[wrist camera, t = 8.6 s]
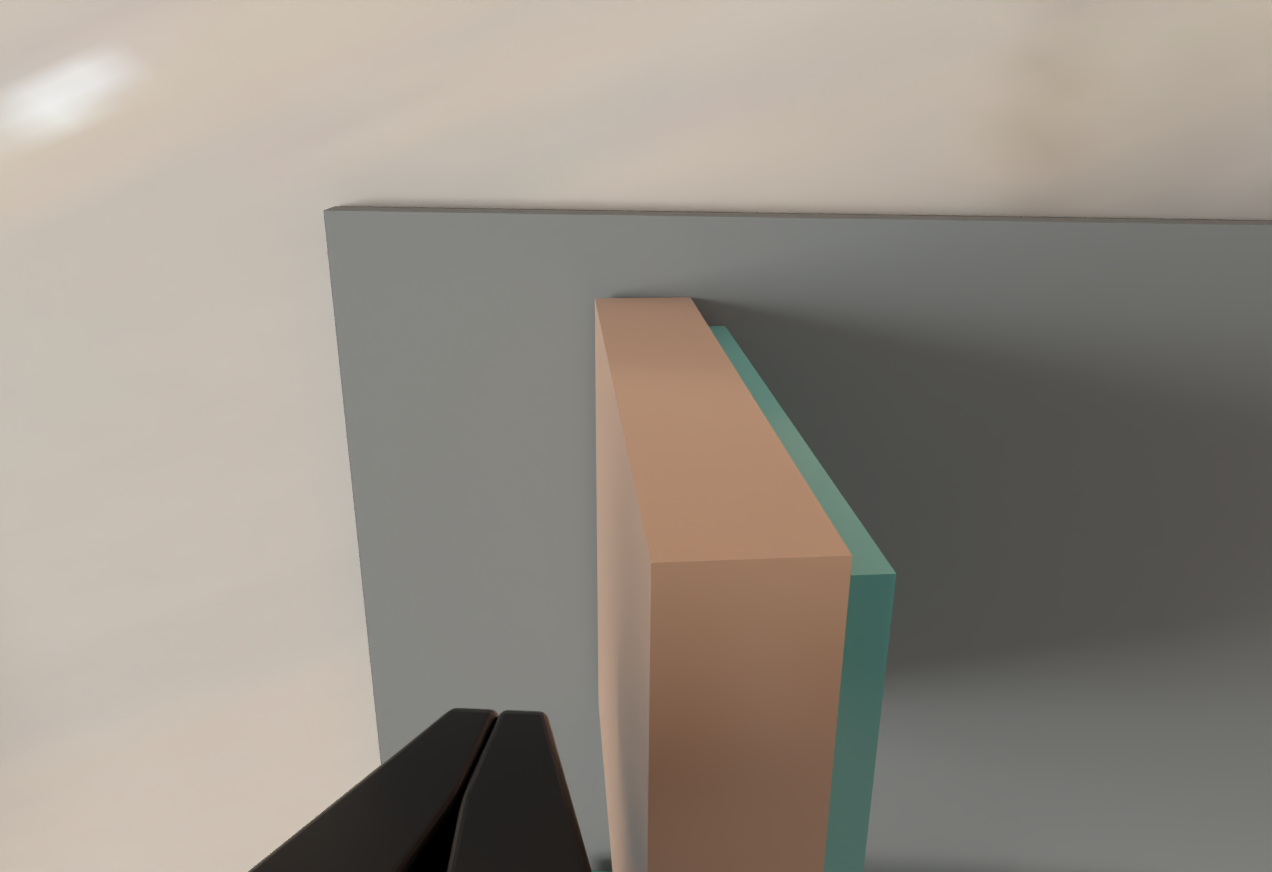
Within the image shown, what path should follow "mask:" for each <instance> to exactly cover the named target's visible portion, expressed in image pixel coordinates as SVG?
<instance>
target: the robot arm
mask: <svg viewBox="0 0 1272 872" xmlns="http://www.w3.org/2000/svg"><path fill="white" fill-rule="evenodd" d="M248 872H592V870H591V867H590V863H589V860H588V856H587V852H586V849H585V845H584V842H583V838H582V835H581V831H580V828H579V824H578V821H577V817H576V814H575V810H574V807H573V803H572V800H571V796H570V792H569V789H568V785H567V782H566V778H565V775H564V771H563V768H562V764H561V761H560V757H559V754H558V750H557V747H556V743H555V739H554V736H553V732H552V729H551V725H550V722H549V718H548V716H547V715H546V714H545V713H544V712H541V711H523V710H505V711H503V712H501V713H500V714H499V715H498V713H497V712H496V711H495V710H492V709H476V708H454V709H451V710H449V711H448V712H446V713H445V714H444V715H442V716H441V717H440V718H439V719H438V720H436V721H435V722H434V723H433V724H431V725H430V726H429V727H428V728H426V729H425V730H424V731H423V732H421V733H420V734H419V735H418V736H416V737H415V738H414V739H413V740H411V741H410V742H409V743H408V744H406V745H405V746H404V747H403V748H401V749H400V750H399V751H398V752H396V753H395V754H394V755H393V756H391V757H390V758H389V759H388V760H386V761H385V762H384V763H383V764H382V765H380V766H379V767H378V768H377V769H375V770H374V771H373V772H372V773H370V774H369V775H368V776H367V777H365V778H364V779H363V780H362V781H360V782H359V783H358V784H357V785H355V786H354V787H353V788H352V789H350V790H349V791H348V792H347V793H345V794H344V795H343V796H342V797H340V798H339V799H338V800H337V801H335V802H334V803H333V804H332V805H331V806H329V807H328V808H327V809H326V810H324V811H323V812H322V813H321V814H319V815H318V816H317V817H316V818H314V819H313V820H312V821H311V822H309V823H308V824H307V825H306V826H304V827H303V828H302V829H301V830H299V831H298V832H297V833H296V834H294V835H293V836H292V837H291V838H289V839H288V840H287V841H286V842H284V843H283V844H282V845H281V846H280V847H278V848H277V849H276V850H275V851H273V852H272V853H271V854H270V855H268V856H267V857H266V858H265V859H263V860H262V861H261V862H260V863H258V864H257V865H256V866H255V867H253V868H252V869H251V870H250V871H248Z"/></svg>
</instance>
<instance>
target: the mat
mask: <svg viewBox="0 0 1272 872" xmlns="http://www.w3.org/2000/svg"><path fill="white" fill-rule="evenodd" d="M324 220H325V229H326V239H327V249H328V258H329V268H330V278H331V287H332V297H333V307H334V316H335V326H336V335H337V345H338V355H339V364H340V374H341V384H342V393H343V403H344V412H345V422H346V432H347V441H348V451H349V461H350V470H351V480H352V490H353V499H354V509H355V518H356V528H357V538H358V547H359V557H360V567H361V576H362V586H363V596H364V605H365V615H366V624H367V634H368V644H369V653H370V663H371V673H372V682H373V692H374V701H375V711H376V721H377V730H378V740H379V750H380V759H381V765H382V764H383V763H384V762H385V761H386V760H388V759H389V758H390V757H391V756H393V755H394V754H395V753H396V752H398V751H399V750H400V749H401V748H403V747H404V746H405V745H406V744H408V743H409V742H410V741H411V740H413V739H414V738H415V737H416V736H418V735H419V734H420V733H421V732H423V731H424V730H425V729H426V728H428V727H429V726H430V725H431V724H433V723H434V722H435V721H436V720H438V719H439V718H440V717H441V716H442V715H444V714H445V713H446V712H448V711H449V710H451V709H454V708H476V709H492V710H495V711H496V712H497V713H498V715H499V714H500V713H501V712H503V711H505V710H523V711H541V712H544V713H545V714H546V715H547V716H548V718H549V722H550V725H551V729H552V732H553V736H554V739H555V743H556V747H557V750H558V754H559V757H560V761H561V764H562V768H563V771H564V775H565V778H566V782H567V785H568V789H569V792H570V796H571V800H572V803H573V807H574V810H575V814H576V817H577V821H578V824H579V828H580V831H581V835H582V838H583V842H584V845H585V849H586V852H587V856H588V860H589V863H590V867H591V870H592V871H608V872H613V871H612V859H611V847H610V836H609V824H608V812H607V800H606V788H605V776H604V764H603V752H602V740H601V728H600V716H599V704H598V598H597V490H596V381H595V299H596V298H670V297H691V299H692V301H693V302H694V304H695V305H696V307H697V309H698V310H699V312H700V313H701V315H702V317H703V318H704V320H705V321H706V323H707V325H708V326H725V327H726V328H727V329H728V331H729V332H730V334H731V335H732V337H733V338H734V340H735V341H736V343H737V344H738V345H739V347H740V348H741V350H742V351H743V353H744V354H745V356H746V357H747V358H748V360H749V361H750V363H751V364H752V366H753V367H754V369H755V370H756V371H757V373H758V374H759V376H760V377H761V379H762V380H763V382H764V383H765V384H766V386H767V387H768V389H769V390H770V392H771V393H772V395H773V396H774V397H775V399H776V400H777V402H778V403H779V405H780V406H781V408H782V409H783V411H784V412H785V413H786V415H787V416H788V418H789V419H790V421H791V422H792V424H793V425H794V426H795V428H796V429H797V431H798V432H799V434H800V435H801V437H802V438H803V439H804V441H805V442H806V444H807V445H808V447H809V448H810V450H811V451H812V452H813V454H814V455H815V457H816V458H817V460H818V461H819V463H820V464H821V465H822V467H823V468H824V470H825V471H826V473H827V474H828V476H829V477H830V479H831V480H832V481H833V483H834V484H835V486H836V487H837V489H838V490H839V492H840V493H841V494H842V496H843V497H844V499H845V500H846V502H847V503H848V505H849V506H850V507H851V509H852V510H853V512H854V513H855V515H856V516H857V518H858V519H859V520H860V522H861V523H862V525H863V526H864V528H865V529H866V531H867V532H868V533H869V535H870V536H871V538H872V539H873V541H874V542H875V544H876V545H877V547H878V548H879V549H880V551H881V552H882V554H883V555H884V557H885V558H886V560H887V561H888V562H889V564H890V565H891V567H892V568H893V570H894V571H895V573H896V581H895V590H894V599H893V608H892V617H891V626H890V635H889V644H888V653H887V662H886V671H885V680H884V689H883V698H882V707H881V716H880V726H879V735H878V744H877V753H876V762H875V771H874V780H873V789H872V798H871V807H870V816H869V825H868V834H867V843H866V852H865V861H864V870H863V872H1272V221H1260V220H1194V219H1128V218H1063V217H997V216H931V215H866V214H800V213H734V212H669V211H603V210H537V209H472V208H406V207H340V206H335V207H332V208H329V209H327V210H324Z"/></svg>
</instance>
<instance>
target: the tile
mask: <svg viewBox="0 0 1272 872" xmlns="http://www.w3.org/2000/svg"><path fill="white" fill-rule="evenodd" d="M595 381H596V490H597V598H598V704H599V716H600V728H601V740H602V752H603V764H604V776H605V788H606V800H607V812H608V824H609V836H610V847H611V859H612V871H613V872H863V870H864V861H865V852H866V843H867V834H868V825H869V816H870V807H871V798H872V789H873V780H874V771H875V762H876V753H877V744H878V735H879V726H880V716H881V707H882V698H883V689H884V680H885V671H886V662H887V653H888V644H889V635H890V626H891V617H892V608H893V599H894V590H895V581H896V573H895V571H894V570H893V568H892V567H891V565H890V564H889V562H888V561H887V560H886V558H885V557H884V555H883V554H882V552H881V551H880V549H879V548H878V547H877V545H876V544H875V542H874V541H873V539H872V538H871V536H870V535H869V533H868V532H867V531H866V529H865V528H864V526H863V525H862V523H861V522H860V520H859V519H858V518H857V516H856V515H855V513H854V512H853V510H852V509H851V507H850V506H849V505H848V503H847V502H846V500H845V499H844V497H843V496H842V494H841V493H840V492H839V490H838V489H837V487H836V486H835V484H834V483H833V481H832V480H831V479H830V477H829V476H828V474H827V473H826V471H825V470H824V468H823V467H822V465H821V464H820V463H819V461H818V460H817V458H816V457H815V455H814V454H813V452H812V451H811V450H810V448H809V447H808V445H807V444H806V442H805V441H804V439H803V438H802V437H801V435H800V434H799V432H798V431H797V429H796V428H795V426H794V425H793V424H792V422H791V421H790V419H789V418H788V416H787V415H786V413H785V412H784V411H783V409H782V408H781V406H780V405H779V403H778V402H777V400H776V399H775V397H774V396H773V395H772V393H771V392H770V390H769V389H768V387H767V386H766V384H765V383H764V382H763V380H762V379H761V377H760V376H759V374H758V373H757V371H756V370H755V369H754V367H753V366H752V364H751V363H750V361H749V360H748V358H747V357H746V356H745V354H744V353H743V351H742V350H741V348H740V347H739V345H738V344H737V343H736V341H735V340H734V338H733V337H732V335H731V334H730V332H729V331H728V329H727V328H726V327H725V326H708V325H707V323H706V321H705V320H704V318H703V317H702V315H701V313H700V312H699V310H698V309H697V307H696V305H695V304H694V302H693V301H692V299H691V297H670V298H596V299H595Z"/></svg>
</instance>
